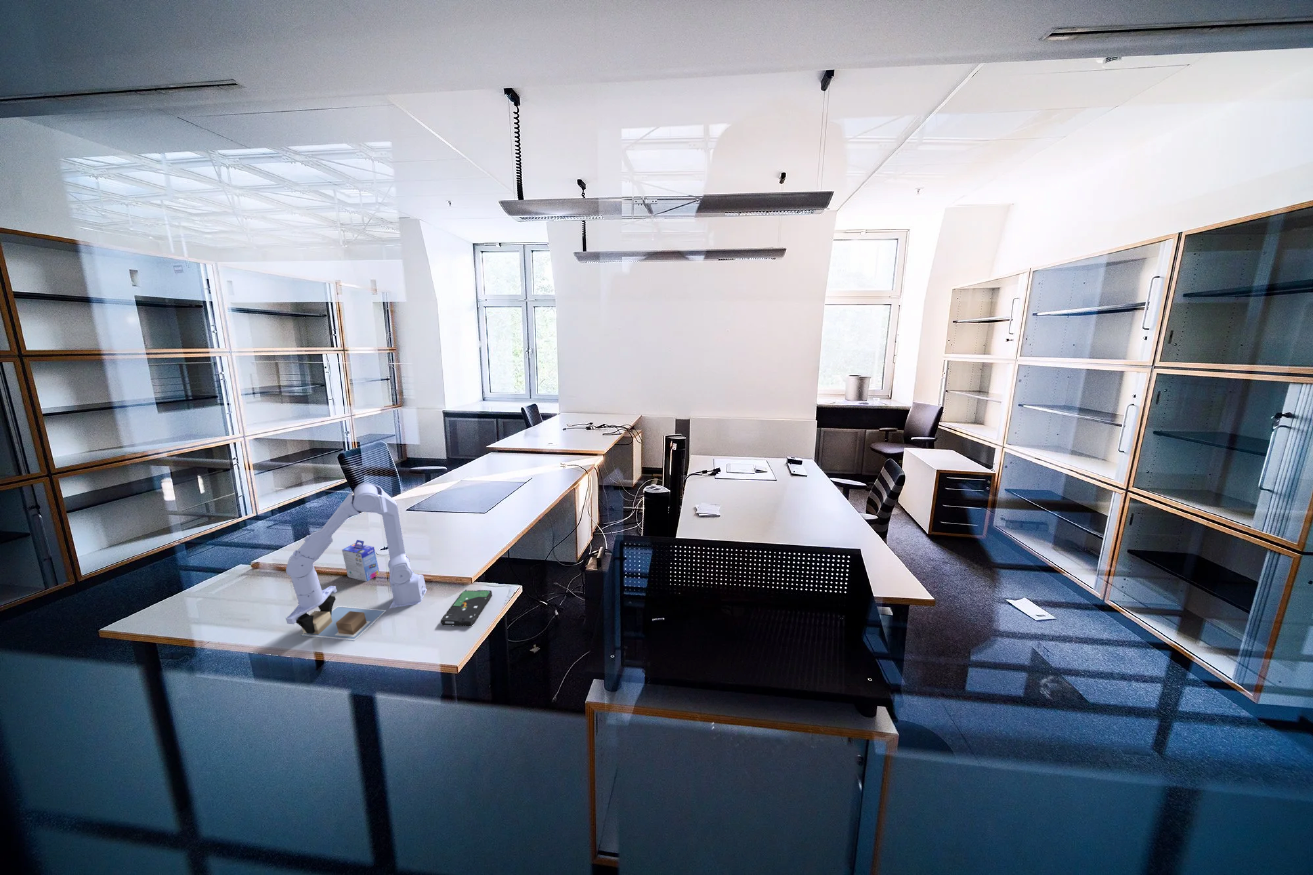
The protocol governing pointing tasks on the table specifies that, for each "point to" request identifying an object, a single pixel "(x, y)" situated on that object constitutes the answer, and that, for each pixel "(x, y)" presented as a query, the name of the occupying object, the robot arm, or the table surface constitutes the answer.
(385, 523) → the robot arm
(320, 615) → the maple block
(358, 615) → the walnut block
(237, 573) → the table surface
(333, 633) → the mat
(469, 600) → the disk drive
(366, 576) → the ink cartridge box
